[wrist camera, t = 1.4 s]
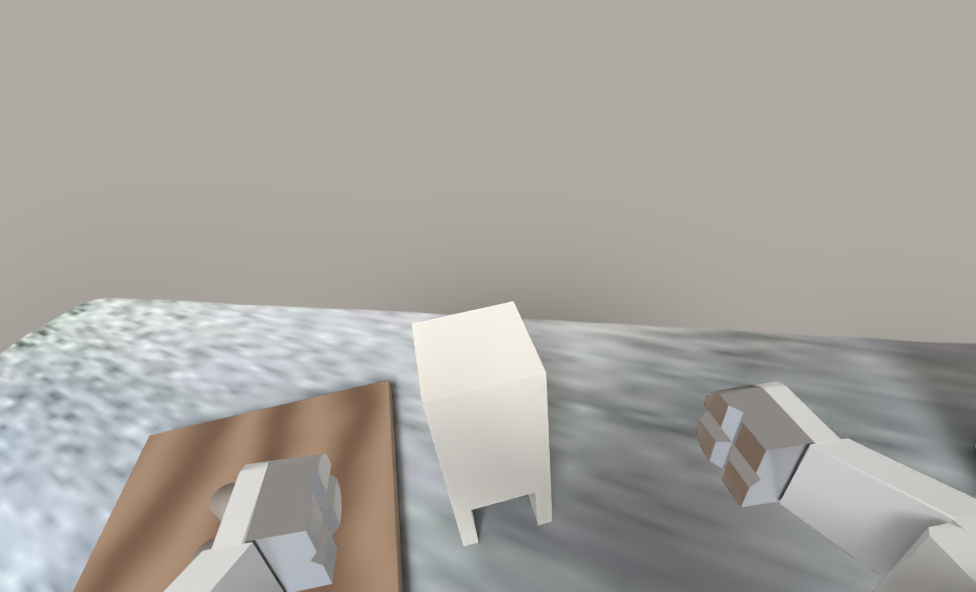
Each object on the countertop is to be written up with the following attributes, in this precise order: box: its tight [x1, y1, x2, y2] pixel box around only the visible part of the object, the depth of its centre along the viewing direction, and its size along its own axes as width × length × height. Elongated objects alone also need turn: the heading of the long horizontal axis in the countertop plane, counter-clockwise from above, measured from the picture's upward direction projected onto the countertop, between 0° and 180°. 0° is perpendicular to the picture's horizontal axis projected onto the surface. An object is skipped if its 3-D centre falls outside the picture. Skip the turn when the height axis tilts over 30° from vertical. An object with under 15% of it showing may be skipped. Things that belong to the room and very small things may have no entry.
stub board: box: [73, 380, 404, 592], centre depth 28 cm, size 20×24×4 cm
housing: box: [412, 302, 552, 546], centre depth 27 cm, size 6×6×14 cm
